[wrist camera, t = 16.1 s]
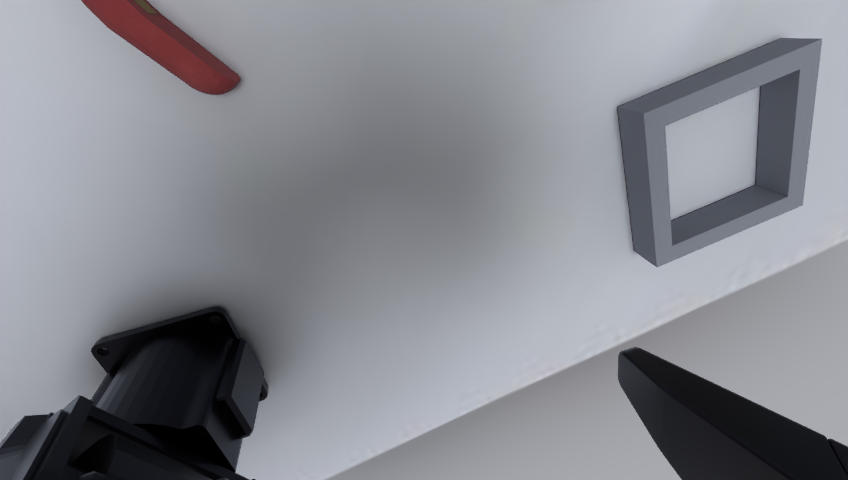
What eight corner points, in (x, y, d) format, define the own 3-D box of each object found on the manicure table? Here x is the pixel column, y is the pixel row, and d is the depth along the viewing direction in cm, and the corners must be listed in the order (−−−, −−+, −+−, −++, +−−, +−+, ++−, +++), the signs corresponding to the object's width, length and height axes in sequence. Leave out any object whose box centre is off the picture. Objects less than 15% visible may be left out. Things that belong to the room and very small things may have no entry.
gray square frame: (634, 250, 25) (656, 267, 23) (617, 106, 21) (643, 113, 19) (769, 193, 25) (802, 205, 24) (780, 38, 21) (822, 38, 19)
